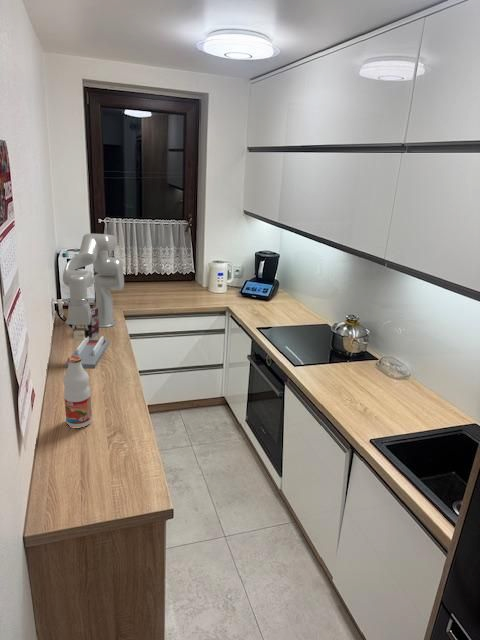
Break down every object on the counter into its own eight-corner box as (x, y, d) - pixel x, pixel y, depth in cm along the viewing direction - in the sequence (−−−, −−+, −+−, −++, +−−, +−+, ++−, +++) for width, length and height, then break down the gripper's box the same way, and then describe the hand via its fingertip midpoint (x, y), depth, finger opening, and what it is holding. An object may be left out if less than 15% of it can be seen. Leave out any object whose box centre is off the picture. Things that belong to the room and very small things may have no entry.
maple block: (77, 335, 214) (77, 326, 213) (87, 335, 214) (86, 327, 213) (74, 340, 209) (73, 331, 207) (83, 340, 209) (83, 332, 207)
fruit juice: (97, 419, 173) (93, 355, 164) (80, 432, 165) (75, 365, 155) (78, 413, 176) (73, 350, 167) (61, 425, 168) (54, 359, 158)
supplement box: (92, 339, 246) (90, 312, 240) (84, 337, 246) (82, 311, 241) (99, 333, 254) (98, 307, 248) (92, 332, 254) (90, 306, 249)
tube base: (84, 341, 241) (83, 333, 240) (109, 342, 242) (109, 334, 241) (65, 367, 212) (64, 357, 211) (95, 368, 213) (94, 358, 212)
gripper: (57, 303, 202) (61, 339, 209) (95, 304, 203) (97, 340, 210) (63, 297, 209) (66, 332, 216) (99, 299, 210) (101, 334, 217)
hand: (81, 336), depth 213 cm, fingers closed on maple block, 4 cm apart
